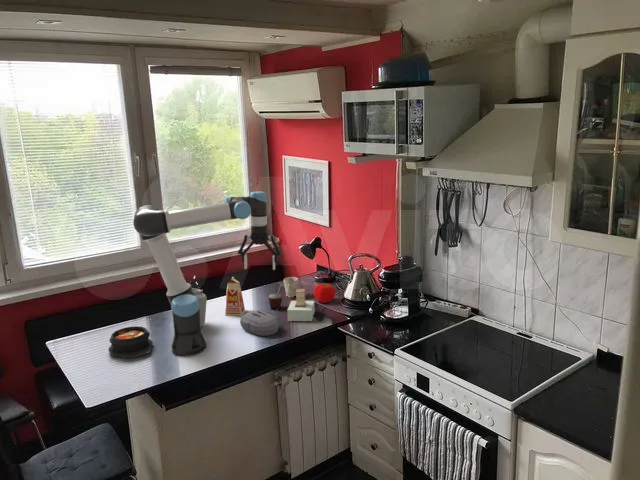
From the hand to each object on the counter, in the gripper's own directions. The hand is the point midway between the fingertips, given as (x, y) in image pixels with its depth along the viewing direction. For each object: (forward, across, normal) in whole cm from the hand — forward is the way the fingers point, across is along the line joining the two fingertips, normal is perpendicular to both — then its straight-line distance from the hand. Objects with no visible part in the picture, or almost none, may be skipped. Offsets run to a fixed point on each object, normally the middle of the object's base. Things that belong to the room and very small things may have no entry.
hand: (259, 268), depth 245 cm
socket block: (+28, -18, -14) cm, 37 cm away
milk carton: (+30, +18, -20) cm, 40 cm away
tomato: (+28, -29, -37) cm, 54 cm away
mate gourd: (+29, -3, -26) cm, 39 cm away
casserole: (+32, +53, +27) cm, 68 cm away
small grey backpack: (+30, -1, +3) cm, 30 cm away
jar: (+29, +38, +3) cm, 48 cm away
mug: (+29, -9, -44) cm, 53 cm away
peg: (+28, -18, -14) cm, 37 cm away
